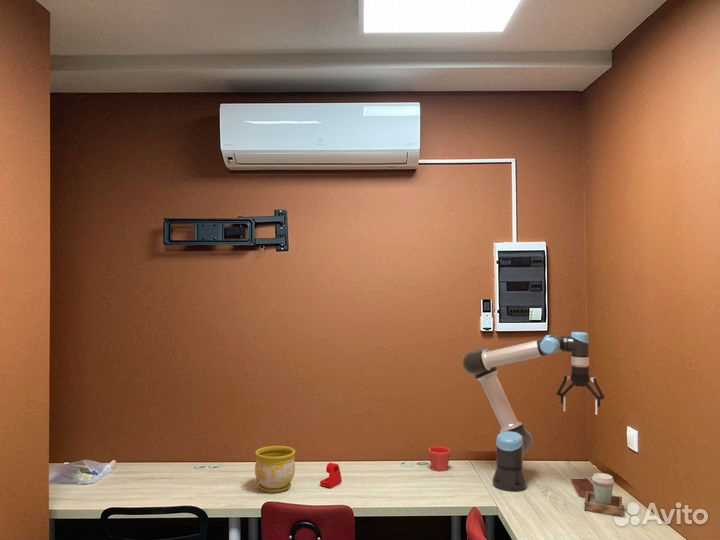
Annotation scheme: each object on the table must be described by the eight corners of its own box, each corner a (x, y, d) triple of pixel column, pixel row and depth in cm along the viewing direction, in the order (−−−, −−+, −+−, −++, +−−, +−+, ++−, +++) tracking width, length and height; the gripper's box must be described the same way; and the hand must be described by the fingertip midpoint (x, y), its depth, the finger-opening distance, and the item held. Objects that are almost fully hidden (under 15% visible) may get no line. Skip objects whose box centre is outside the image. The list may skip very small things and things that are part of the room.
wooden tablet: (603, 501, 238) (603, 497, 238) (579, 499, 240) (579, 495, 240) (590, 480, 264) (590, 476, 264) (568, 478, 266) (568, 475, 266)
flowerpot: (246, 491, 243) (247, 454, 243) (267, 478, 259) (268, 443, 260) (282, 497, 236) (282, 459, 237) (301, 484, 253) (302, 448, 253)
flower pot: (451, 472, 271) (452, 452, 271) (429, 472, 271) (429, 452, 272) (448, 465, 282) (448, 446, 282) (427, 465, 282) (427, 446, 282)
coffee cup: (596, 499, 235) (596, 471, 235) (617, 505, 229) (617, 476, 229) (588, 504, 229) (588, 475, 229) (609, 510, 223) (609, 480, 223)
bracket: (331, 480, 258) (331, 459, 258) (341, 483, 254) (341, 461, 255) (319, 486, 251) (319, 464, 251) (329, 489, 247) (330, 466, 247)
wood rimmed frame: (584, 511, 225) (584, 502, 226) (586, 499, 238) (586, 491, 238) (622, 517, 219) (622, 508, 220) (622, 505, 232) (621, 496, 232)
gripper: (610, 366, 250) (610, 413, 249) (552, 363, 261) (552, 408, 260) (609, 368, 243) (610, 417, 243) (550, 364, 254) (550, 411, 253)
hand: (580, 412), depth 251 cm, fingers open, 13 cm apart
